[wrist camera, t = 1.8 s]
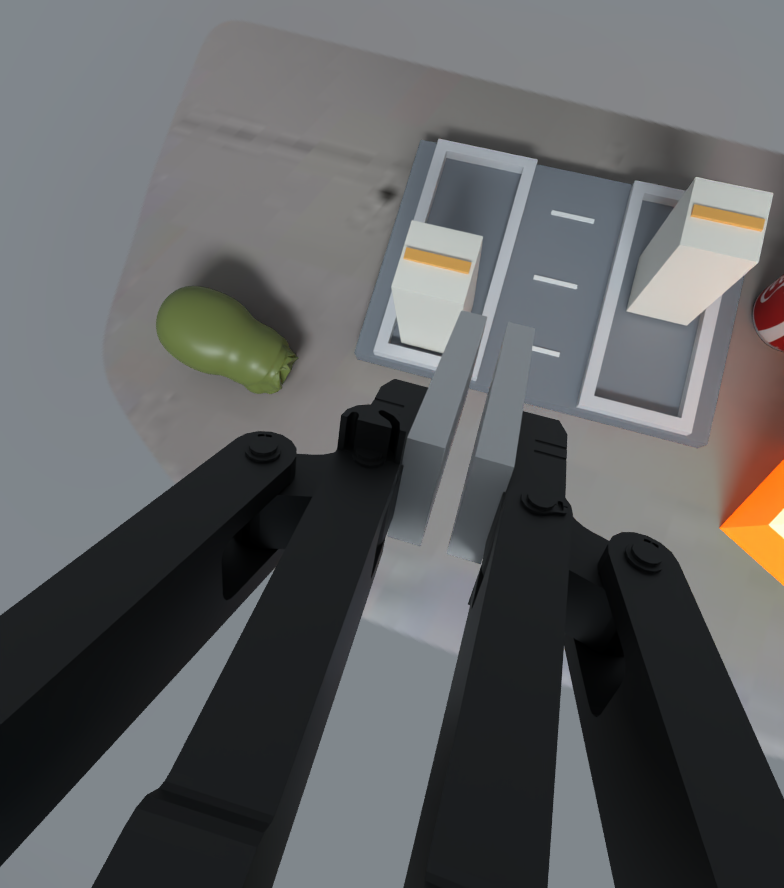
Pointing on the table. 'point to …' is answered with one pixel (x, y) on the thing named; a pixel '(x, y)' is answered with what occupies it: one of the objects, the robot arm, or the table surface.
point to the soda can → (771, 315)
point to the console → (561, 291)
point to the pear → (223, 339)
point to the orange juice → (762, 524)
